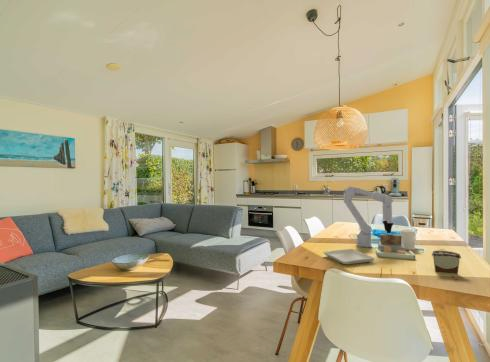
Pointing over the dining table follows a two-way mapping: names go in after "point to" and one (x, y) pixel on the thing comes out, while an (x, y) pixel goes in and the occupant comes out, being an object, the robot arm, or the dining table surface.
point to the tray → (396, 255)
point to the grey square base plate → (393, 247)
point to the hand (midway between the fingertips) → (387, 231)
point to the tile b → (400, 252)
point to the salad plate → (349, 256)
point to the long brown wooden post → (390, 239)
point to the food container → (446, 262)
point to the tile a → (387, 249)
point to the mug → (408, 239)
